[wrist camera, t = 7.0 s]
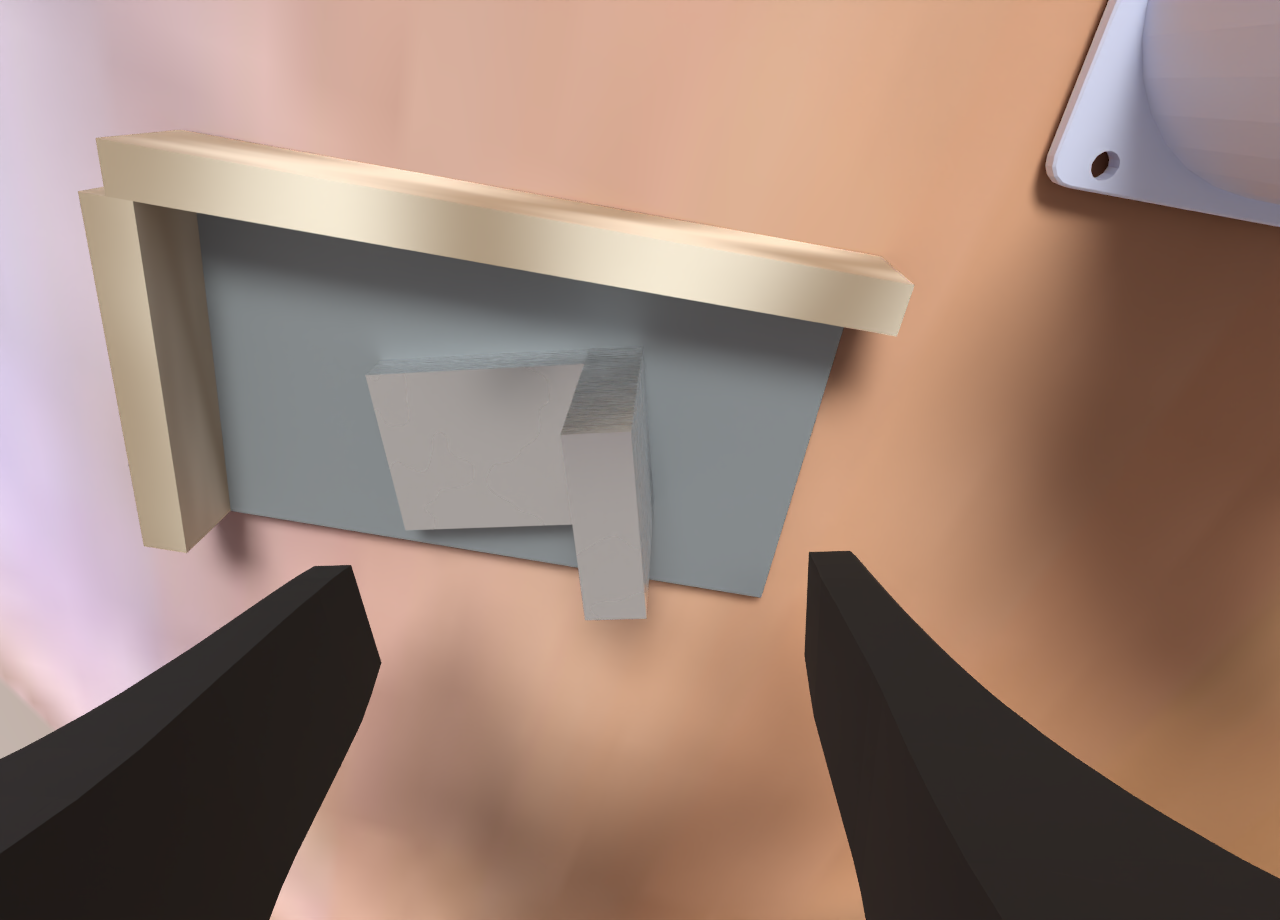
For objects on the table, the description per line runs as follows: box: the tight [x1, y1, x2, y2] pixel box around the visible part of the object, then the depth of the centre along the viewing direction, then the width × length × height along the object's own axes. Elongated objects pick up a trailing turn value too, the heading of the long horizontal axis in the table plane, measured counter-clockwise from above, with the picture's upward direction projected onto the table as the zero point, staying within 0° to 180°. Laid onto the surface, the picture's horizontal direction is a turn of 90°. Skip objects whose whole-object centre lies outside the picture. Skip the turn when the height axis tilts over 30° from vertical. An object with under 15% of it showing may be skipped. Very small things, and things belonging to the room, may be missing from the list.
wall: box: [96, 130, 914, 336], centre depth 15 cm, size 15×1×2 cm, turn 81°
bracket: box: [365, 346, 654, 620], centre depth 15 cm, size 6×4×4 cm, turn 94°
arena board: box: [196, 212, 844, 598], centre depth 17 cm, size 14×8×1 cm, turn 80°
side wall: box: [78, 187, 231, 553], centre depth 16 cm, size 1×8×2 cm, turn 171°
